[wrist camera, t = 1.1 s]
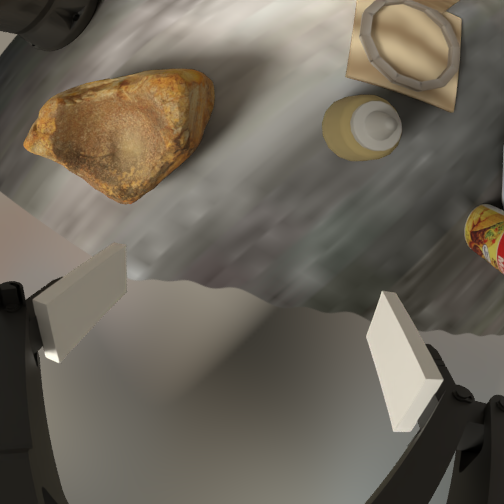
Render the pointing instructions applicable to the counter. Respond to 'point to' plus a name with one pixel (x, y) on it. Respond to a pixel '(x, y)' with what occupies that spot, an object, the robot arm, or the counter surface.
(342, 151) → the squeeze bottle
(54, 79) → the counter surface
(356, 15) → the cup bracket
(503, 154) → the plastic bottle
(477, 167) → the counter surface
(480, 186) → the counter surface
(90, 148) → the rough brown rock
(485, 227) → the canned food
